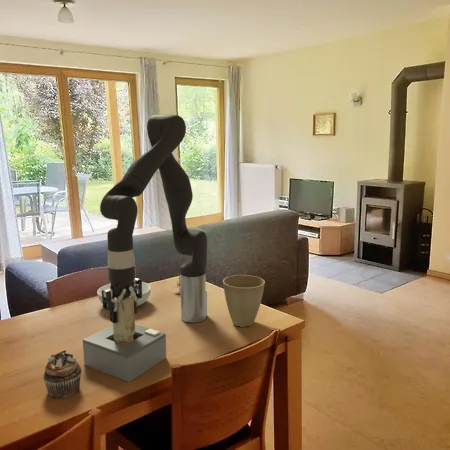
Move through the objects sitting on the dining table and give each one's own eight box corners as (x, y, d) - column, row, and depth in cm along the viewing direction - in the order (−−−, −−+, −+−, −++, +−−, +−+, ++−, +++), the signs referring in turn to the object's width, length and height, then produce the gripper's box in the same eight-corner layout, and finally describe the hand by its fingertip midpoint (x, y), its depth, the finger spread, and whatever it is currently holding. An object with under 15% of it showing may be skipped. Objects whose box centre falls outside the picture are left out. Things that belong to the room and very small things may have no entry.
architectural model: (184, 296, 189) (183, 280, 187) (172, 293, 193) (171, 277, 191) (189, 294, 191) (189, 278, 190) (177, 291, 195) (177, 275, 194)
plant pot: (253, 335, 151) (253, 290, 148) (215, 326, 158) (215, 283, 155) (270, 319, 164) (271, 278, 161) (235, 312, 171) (235, 272, 168)
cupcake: (36, 393, 117) (33, 358, 115) (66, 376, 125) (64, 343, 123) (60, 404, 112) (57, 368, 110) (90, 386, 120) (88, 352, 119)
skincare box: (127, 342, 129) (125, 302, 126) (113, 341, 130) (111, 301, 127) (136, 332, 135) (134, 294, 133) (122, 331, 136) (120, 293, 133)
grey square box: (123, 343, 145) (122, 318, 144) (166, 358, 136) (165, 331, 134) (84, 364, 132) (82, 337, 130) (128, 382, 123) (127, 353, 121)
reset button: (125, 345, 137) (124, 332, 136) (137, 349, 134) (136, 336, 133) (113, 351, 132) (112, 339, 132) (125, 356, 130) (124, 343, 129)
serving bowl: (127, 292, 193) (126, 277, 191) (162, 302, 181) (161, 286, 179) (87, 307, 176) (85, 290, 175) (122, 319, 164) (122, 302, 163)
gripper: (112, 272, 120) (115, 329, 123) (148, 260, 132) (150, 312, 135) (92, 268, 124) (96, 323, 127) (129, 256, 136) (131, 307, 139)
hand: (124, 318), depth 131 cm, fingers closed on skincare box, 7 cm apart
